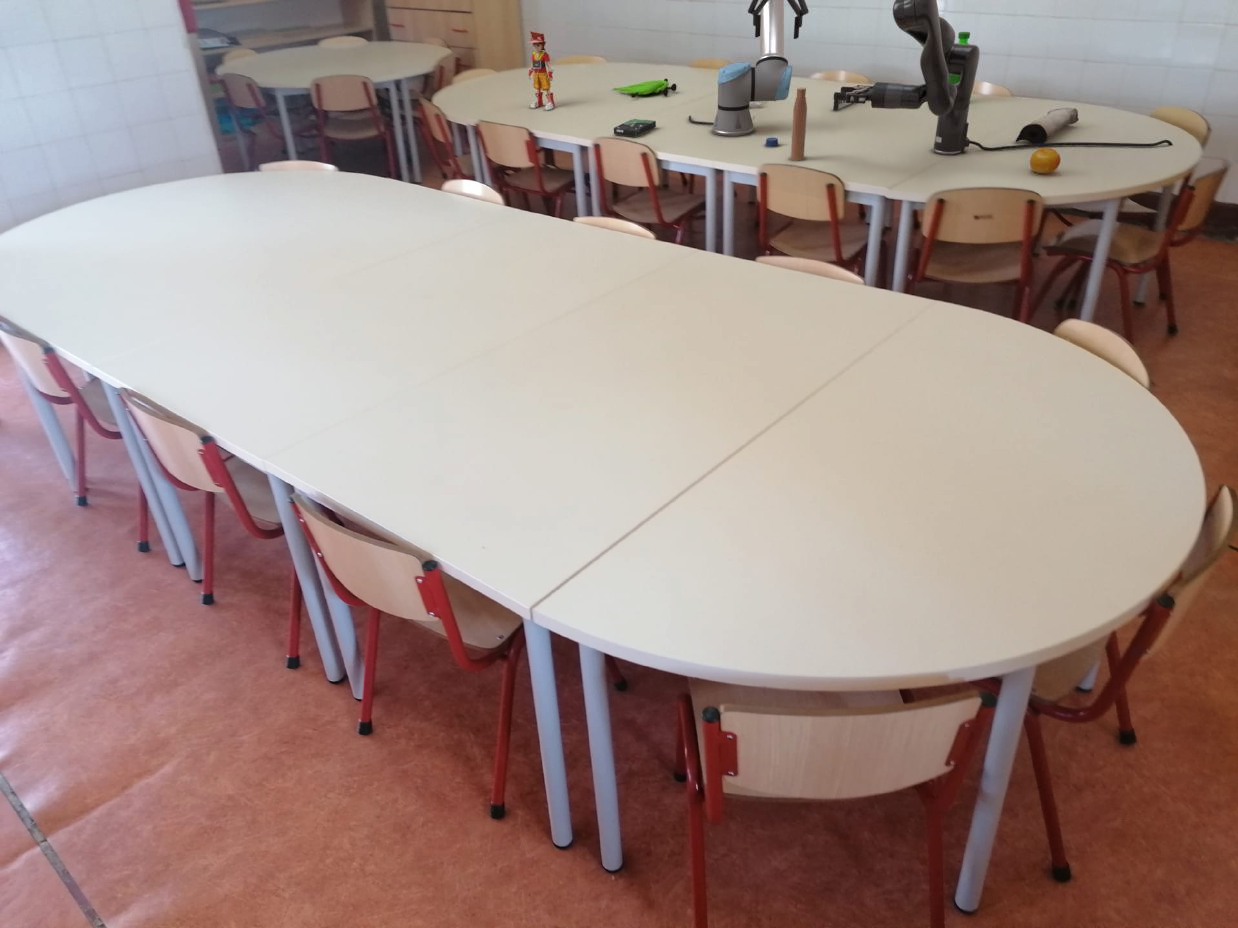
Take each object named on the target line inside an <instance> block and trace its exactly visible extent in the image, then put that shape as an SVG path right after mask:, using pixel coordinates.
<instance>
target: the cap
mask: <svg viewBox="0 0 1238 928" xmlns="http://www.w3.org/2000/svg"><path fill="white" fill-rule="evenodd" d="M778 145H779V139H778V138H777V137H767V138H766V139H765V146H766V147H768V148H774V147H776V148H777V147H778Z"/></svg>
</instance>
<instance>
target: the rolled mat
mask: <svg viewBox="0 0 1238 928" xmlns="http://www.w3.org/2000/svg"><path fill="white" fill-rule="evenodd" d="M1079 120H1080V119H1079V111H1078V109H1077V108H1075V107H1073V108H1072V107H1059V108H1054V109H1049V111H1048V112H1046V114H1045V115H1042V116H1040V117H1039V118H1037V119H1035V120H1033V121H1031V122H1029V123H1028V124H1026V125H1023V127H1022V128H1021V130H1020V131H1019V134H1018V135H1017V137H1016V138H1015V141H1014V142H1015V143H1018V142H1020V141H1026V142H1028V144H1039V143H1047V141H1049V140H1050V139H1051V138H1052V136H1054V135H1055V134H1056V133H1057V132H1058V131H1059V130H1061V129H1063V127H1065V126H1069V125H1074V124H1077V122H1079Z"/></svg>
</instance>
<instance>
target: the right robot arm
mask: <svg viewBox="0 0 1238 928" xmlns="http://www.w3.org/2000/svg"><path fill="white" fill-rule="evenodd" d="M892 17H893V20H894V23H895V25H896V26H897V27H898V28H899V29H900V30H901V31H902V32H904V33H905V34H907V35H909V36H910V37H912V38H913V39H914V40H915V41H917V43H919V44H920V47H922V51H921V54H920V59H919V66H920V70H921V74H922V78H923V80H924V83H923V84H904V83H900V82H899V83H898V82H883V81H880V82H879V81H876V82H875V83H874V84H873V85H861V84H857V85H854V86H841V87H840V91H839V92H838V91H835V92H834V93H833V101H834V100H844V101H846V103H852V104H862V105H864V104H866V103H867V102H870V106H871V108H872V109H888V110H899V109H900V110H901V109H902V110H919V109H920V108H921V107H922V106H923V104H924V103H927V107H928V109H929V111H930V112H931V114H933V115H934V116H936V117H937V124H936V130H935V136H934V143H933V148H932V151H933V152H934V153H936V154H940V155H945V156H947V155H949V156H950V155H959V154H964V153H965V150H966V149H965V148H969V147H970V145H974V146H977V147H978V148H979V149H981V150H982V151H992V152H993V151H1001V150H1013V149H1022V148H1023V149H1024V148H1035V147H1037V148H1038V147H1054V146H1056V147H1058V146H1092V147H1093V146H1097V147H1099V146H1100V147H1137V148H1139V147H1141V148H1143V147H1145V148H1147V147H1148V148H1149V147H1157V146H1160V145H1163V144H1168V146H1173V145H1174V144H1173V142H1172V141H1170V139H1163V140H1160V141H1156V142H1153V143H1139V142H1138V143H1136V142H1135V143H1134V142H1133V143H1132V142H1094V141H1093V142H1090V141H1089V142H1087V141H1086V142H1084V141H1083V142H1082V141H1081V142H1080V141H1076V142H1074V141H1073V142H1071V141H1069V142H1045V143H1039V144H1030V143H1027V144H1017V145H1016V144H1015V145H1003V146H995V147H994V146H993V147H988V146H984V145H982V144H981V143H979V142H978V141H974V140H971V139H970V138H969V137H968V130H969V122H968V119H969V118H968V116H969V111H970V105H971V98H972V93H973V89H974V87H975V81H976V76H977V73H978V68H979V63H980V56H981V55H980V54H981V53H980V51H981V50H980V47H979V46H978V45H976V44H970V43H969V44H957V43H958V42H957V43H956V42H955V41H956V31H955V29H954V27H953V26H952V25H951V24H950V22H949V21H947V20H946V19H945V18H944V17H941V16H940V14H939V7H938V2H937V0H894V2H893V5H892ZM949 75H958V76H961V79H960V82H959V83H957V84H953V83H951V82H948V79H949ZM850 96H851V97H852V99H850Z"/></svg>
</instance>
